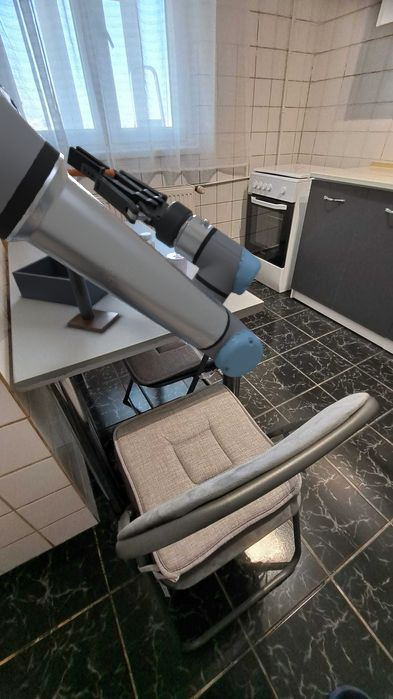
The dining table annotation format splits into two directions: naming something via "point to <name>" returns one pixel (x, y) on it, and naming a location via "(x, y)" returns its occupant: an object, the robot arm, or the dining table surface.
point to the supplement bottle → (148, 238)
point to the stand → (88, 308)
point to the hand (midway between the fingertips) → (73, 154)
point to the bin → (51, 282)
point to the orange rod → (78, 174)
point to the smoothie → (178, 261)
